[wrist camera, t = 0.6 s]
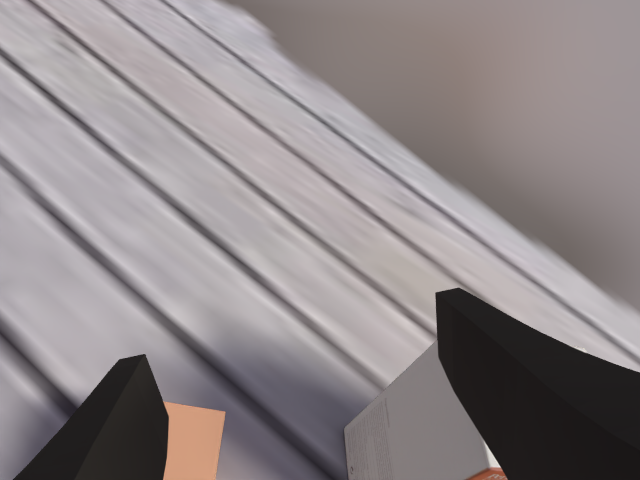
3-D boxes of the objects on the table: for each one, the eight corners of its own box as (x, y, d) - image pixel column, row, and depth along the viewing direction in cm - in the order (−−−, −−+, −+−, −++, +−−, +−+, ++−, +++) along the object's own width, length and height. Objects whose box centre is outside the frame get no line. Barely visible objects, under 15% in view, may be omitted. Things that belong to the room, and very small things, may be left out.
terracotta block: (189, 548, 24) (207, 525, 21) (84, 538, 23) (84, 512, 20) (207, 445, 28) (225, 411, 24) (116, 432, 26) (121, 394, 23)
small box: (351, 541, 27) (487, 469, 18) (341, 426, 31) (448, 321, 22) (474, 541, 29) (649, 478, 20) (449, 434, 34) (585, 343, 24)
